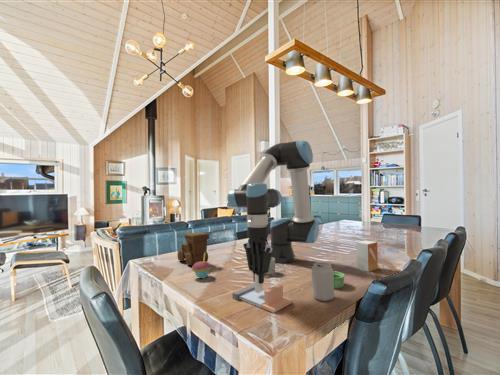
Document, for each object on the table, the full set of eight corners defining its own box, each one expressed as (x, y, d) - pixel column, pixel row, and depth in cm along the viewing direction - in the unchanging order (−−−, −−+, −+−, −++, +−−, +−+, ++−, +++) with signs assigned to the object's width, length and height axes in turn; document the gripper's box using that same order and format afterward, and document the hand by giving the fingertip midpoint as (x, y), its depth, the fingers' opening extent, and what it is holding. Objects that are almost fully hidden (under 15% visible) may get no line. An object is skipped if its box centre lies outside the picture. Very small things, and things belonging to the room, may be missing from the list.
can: (309, 294, 94) (308, 261, 94) (329, 292, 95) (328, 260, 95) (316, 302, 87) (315, 267, 87) (337, 301, 87) (336, 266, 88)
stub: (262, 308, 83) (261, 291, 83) (280, 298, 90) (280, 283, 90) (274, 312, 80) (273, 295, 80) (292, 302, 87) (292, 286, 87)
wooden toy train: (211, 264, 136) (210, 233, 136) (191, 268, 129) (191, 236, 129) (194, 257, 151) (193, 229, 152) (175, 260, 144) (175, 231, 144)
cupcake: (214, 275, 118) (213, 249, 118) (205, 281, 110) (204, 253, 110) (198, 273, 121) (197, 248, 121) (188, 279, 113) (188, 252, 113)
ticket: (232, 298, 92) (232, 292, 92) (255, 288, 100) (254, 283, 100) (259, 309, 83) (259, 303, 83) (281, 297, 91) (281, 292, 91)
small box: (368, 272, 117) (367, 244, 118) (356, 268, 123) (355, 242, 123) (378, 268, 122) (377, 241, 122) (366, 265, 127) (365, 240, 127)
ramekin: (342, 290, 97) (341, 279, 97) (318, 286, 101) (318, 275, 102) (347, 283, 104) (346, 272, 104) (325, 279, 109) (324, 269, 109)
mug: (267, 269, 125) (267, 256, 125) (278, 272, 120) (277, 258, 120) (253, 274, 118) (253, 260, 118) (264, 277, 113) (263, 263, 113)
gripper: (237, 225, 93) (238, 290, 93) (264, 228, 84) (265, 300, 84) (251, 223, 98) (253, 284, 98) (278, 226, 89) (279, 293, 89)
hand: (258, 291), depth 91 cm, fingers closed
